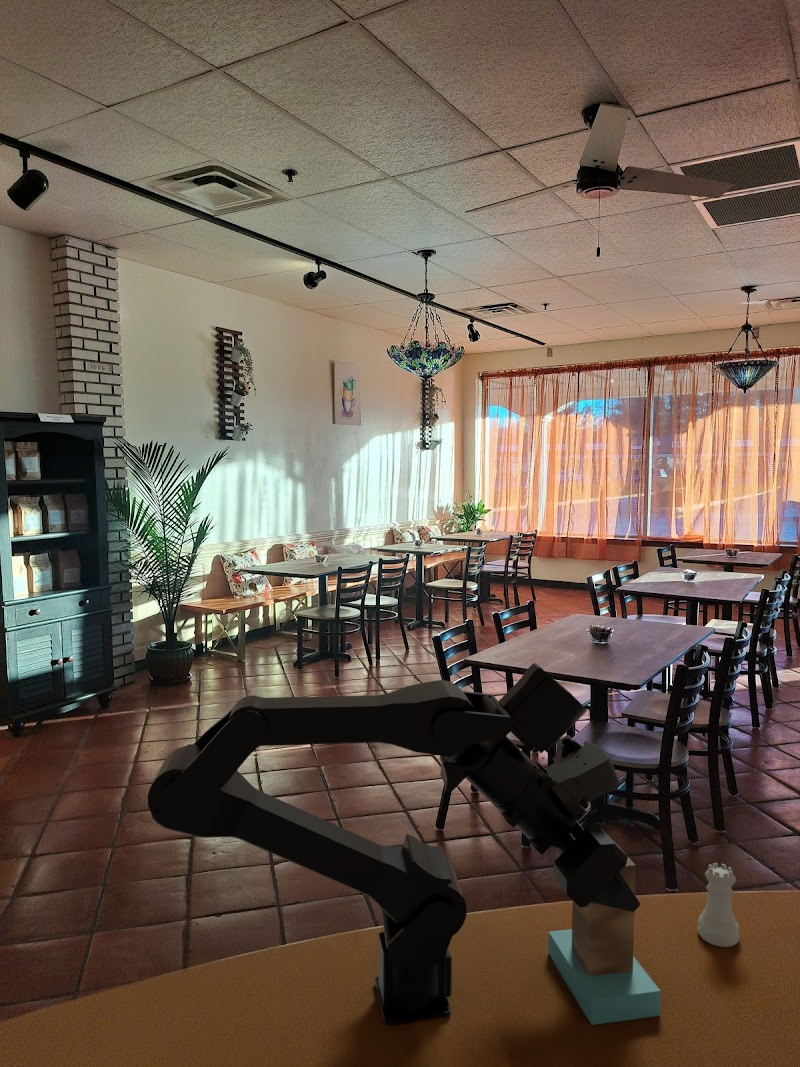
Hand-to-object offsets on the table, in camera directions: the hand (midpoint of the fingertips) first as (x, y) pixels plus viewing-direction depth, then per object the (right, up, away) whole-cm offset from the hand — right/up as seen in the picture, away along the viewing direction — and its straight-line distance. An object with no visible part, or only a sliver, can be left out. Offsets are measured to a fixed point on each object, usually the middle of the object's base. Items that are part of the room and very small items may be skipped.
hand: (616, 882), depth 78 cm
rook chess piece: (+14, -10, +8) cm, 19 cm away
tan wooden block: (-1, -8, 0) cm, 8 cm away
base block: (-1, -10, +1) cm, 11 cm away
